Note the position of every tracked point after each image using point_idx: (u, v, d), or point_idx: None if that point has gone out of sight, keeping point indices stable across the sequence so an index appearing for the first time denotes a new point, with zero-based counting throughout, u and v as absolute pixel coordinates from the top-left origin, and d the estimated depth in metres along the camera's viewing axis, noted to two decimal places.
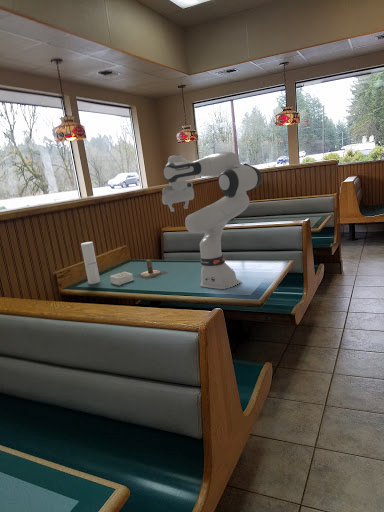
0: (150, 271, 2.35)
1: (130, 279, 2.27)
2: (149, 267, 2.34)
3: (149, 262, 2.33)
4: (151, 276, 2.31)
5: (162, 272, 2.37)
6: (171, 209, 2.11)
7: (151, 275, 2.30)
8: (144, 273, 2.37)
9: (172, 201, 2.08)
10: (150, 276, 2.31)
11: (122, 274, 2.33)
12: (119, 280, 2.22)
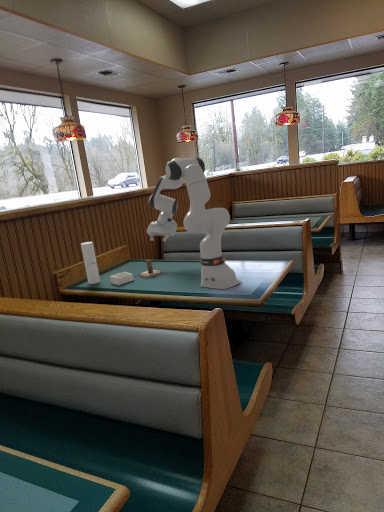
0: (150, 271, 2.35)
1: (130, 279, 2.27)
2: (149, 267, 2.34)
3: (149, 262, 2.33)
4: (151, 276, 2.31)
5: (162, 272, 2.37)
6: (151, 238, 2.45)
7: (151, 275, 2.30)
8: (144, 273, 2.37)
9: (152, 231, 2.45)
10: (150, 276, 2.31)
11: (122, 274, 2.33)
12: (119, 280, 2.22)
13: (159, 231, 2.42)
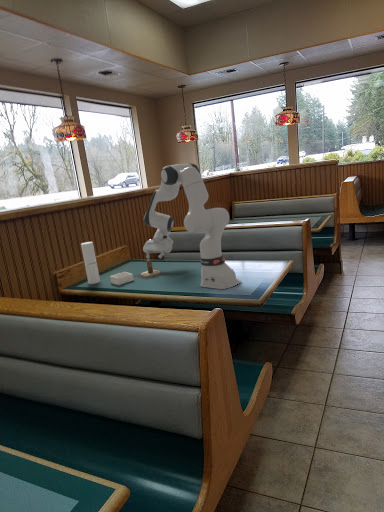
0: (150, 271, 2.35)
1: (130, 279, 2.27)
2: (149, 267, 2.34)
3: (149, 262, 2.33)
4: (151, 276, 2.31)
5: (162, 272, 2.37)
6: (147, 256, 2.42)
7: (151, 275, 2.30)
8: (144, 273, 2.37)
9: (148, 248, 2.42)
10: (150, 276, 2.30)
11: (122, 274, 2.33)
12: (119, 280, 2.22)
13: (155, 248, 2.39)
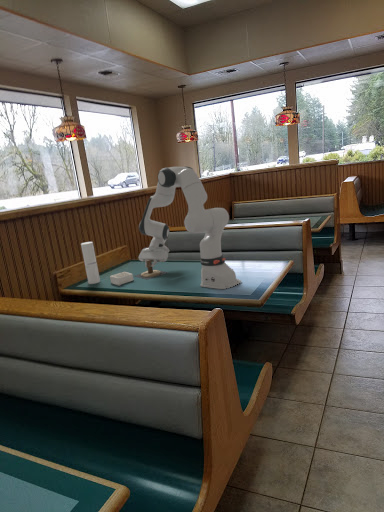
0: (150, 271, 2.35)
1: (130, 279, 2.27)
2: (149, 267, 2.34)
3: (149, 262, 2.33)
4: (151, 276, 2.31)
5: (162, 272, 2.37)
6: None
7: (151, 275, 2.30)
8: (144, 273, 2.37)
9: (143, 257, 2.39)
10: (150, 276, 2.30)
11: (122, 274, 2.33)
12: (119, 280, 2.22)
13: (150, 257, 2.36)
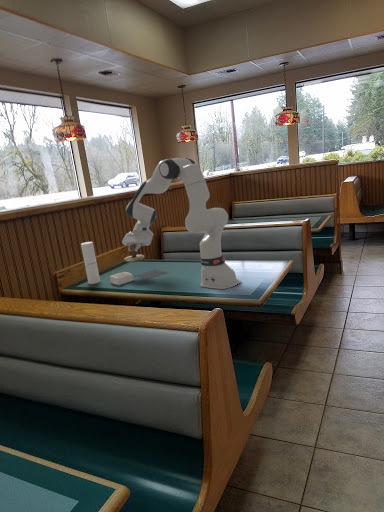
0: (133, 255, 2.29)
1: (130, 279, 2.27)
2: (132, 251, 2.28)
3: (132, 246, 2.28)
4: (134, 260, 2.25)
5: (162, 272, 2.37)
6: (129, 248, 2.31)
7: (134, 259, 2.25)
8: (127, 257, 2.31)
9: (127, 241, 2.33)
10: (133, 260, 2.25)
11: (122, 274, 2.33)
12: (119, 280, 2.22)
13: (134, 241, 2.30)
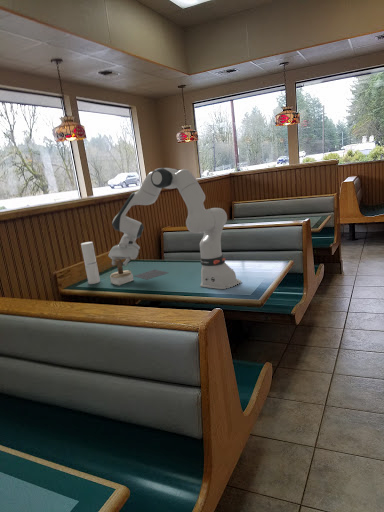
0: (120, 271, 2.26)
1: (130, 279, 2.27)
2: (119, 267, 2.26)
3: (119, 262, 2.25)
4: None
5: (162, 272, 2.37)
6: None
7: (121, 276, 2.22)
8: (114, 273, 2.28)
9: (113, 254, 2.30)
10: (120, 277, 2.22)
11: None
12: (119, 280, 2.22)
13: (120, 255, 2.27)
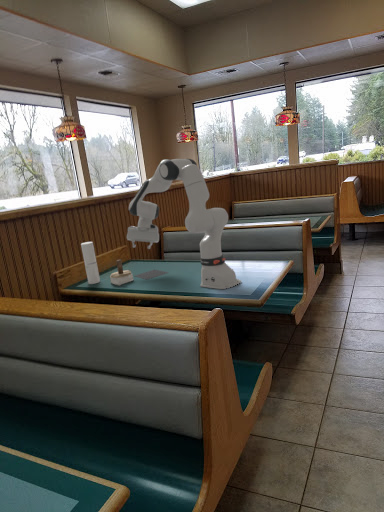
0: (120, 271, 2.26)
1: (130, 279, 2.27)
2: (119, 267, 2.26)
3: (119, 262, 2.25)
4: None
5: (162, 272, 2.37)
6: (133, 245, 2.37)
7: (121, 276, 2.22)
8: (114, 273, 2.28)
9: (133, 237, 2.37)
10: (120, 277, 2.22)
11: None
12: (119, 280, 2.22)
13: (142, 238, 2.36)
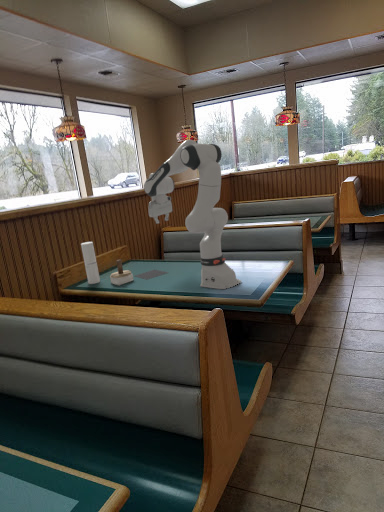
0: (120, 271, 2.26)
1: (130, 279, 2.27)
2: (119, 267, 2.26)
3: (119, 262, 2.25)
4: None
5: (162, 272, 2.37)
6: (157, 221, 2.30)
7: (121, 276, 2.22)
8: (114, 273, 2.28)
9: (158, 213, 2.28)
10: (120, 277, 2.22)
11: None
12: (119, 280, 2.22)
13: (163, 212, 2.32)
